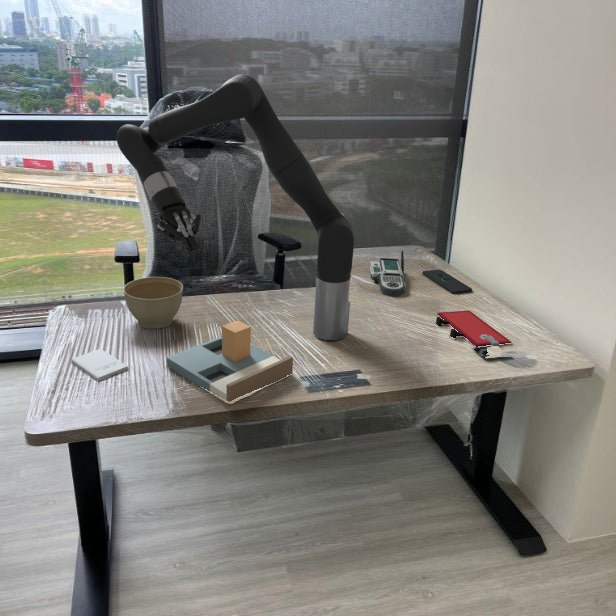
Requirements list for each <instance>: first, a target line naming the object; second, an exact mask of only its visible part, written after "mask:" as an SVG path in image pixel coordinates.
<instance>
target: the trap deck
mask: <svg viewBox="0 0 616 616" xmlns="http://www.w3.org/2000/svg"><path fill="white" fill-rule="evenodd" d="M293 364H294V357H293V356H291V355H289V356H287V357H285V358H282V359H280V358H277V357H276V356H274V355H272V354H269V353H268V352H266V351H264V350H262V349H260V348H259V347H256V346H254V345H253V344H251V346H250V356H248V357H245V358H243V359H241V360H238V361H236V362H234V361H233V360H231V359H229V358H227V357H226V356H224V355H222V335H221V336H219V337H217V338H213V339H211V340H208V341H206V342H203V343H201V344H197V345H195V346H192V347H189V348H188V349H185V350H181V351H180V352H177V353H174V354H172V355H169V356H166V366H167V368H169V369H171V370H172V369H173V370H172V371H174V372H175V373H177V374H179V375H180V376H182V377H183V378H185V379H186V380H188V381H190V382H191V383H193V384H194V385H196V386H198V387H199V386H201V387H203V388H204V389H207V390H208V391H210V392H212V393H213V394H215V395H217V396H219V397H221V398H223V399H225V400H227V401H229V402H230V401H232V400H234V399H236V398H238V397H240V396H243V395H245V394H247V393H250V392H252V391H254V390H257V389H259V388H262V387H264V386H266V385H269V384H271V383H274V382H276V381H278V380H280V379H282V378H284V377H286V376H287V375H290V374H292V375H293V371H294V370H293V366H294V365H293ZM201 387H200V388H201ZM204 389H203V390H204Z"/></svg>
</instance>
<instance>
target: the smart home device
mask: <svg viewBox="0 0 616 616" xmlns="http://www.w3.org/2000/svg"><path fill="white" fill-rule="evenodd" d="M422 276H423V277H425V278H427V279H428V280H430V281H432V282H433V283H435V284H436V285H438V286H439V287H441V288H442V289H444V290H446V292H448V293H450V294H452V295H459V294H468V293H469V292H470V293H472V292H473V288H472V287H470V286H469V285H467V284H465V283H464V282H462V281H460V280H459V279H457V278H456V277H454V276H453V275H451V274H450V273H447V272H445V270H443V269H440V268H439V269H431V270H423V271H422ZM470 293H469V294H470Z"/></svg>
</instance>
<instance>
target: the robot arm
mask: <svg viewBox="0 0 616 616" xmlns="http://www.w3.org/2000/svg"><path fill="white" fill-rule="evenodd" d="M241 119H244V120H245V121H246V122H247V124H248V125H249V127H250V128H251V130H252V131H253V133H254V135H255V137H256V138H257V141H258V144H259V146H260V150H261V152H262V155H263V158H264V161H265V164H266V166H267V168H268V170H269V172H270V173H271V174H272V176H273V177H274V179H275V180H276V182H277V183H278V185H279V186H280V187H281V189H282V190H283V191H284V192H285V193H286V195H287V196H288V197H290V199H292V201H293V202H295V203H296V204H297V205H298V206H299V207H300V208H301V209H302V211H304V213H305V214H306V215H307V217H308V219H309V220H310V222H311V224H312V226H313V228H314V229H315V231H316V233H317V236H318V242H317V245H318V246H317V262H316V276H315V295H314V296H315V297H314V311H313V312H314V313H313V314H314V316H313V328H312V329H313V330H312V331H313V333H312V334H313V336H314V335H315V338H317V337H318V338H317V339H319V338H320V340H322V339H324V340H323V341H327V340H336V341H340V340H343V339H344V338H345V337H346V335H347V334H348V333H347V332H349V322H350V321H349V320H350V309H351V302H350V301H349V299H350V297H349V296H350V283H351V274H352V269H353V261H354V259H353V257H354V247H355V236H354V231H353V227H352V224H351V223H350V221H348V219H347V218H346V217H345V215H343V213H341V211H340V210H339V209H338V207H336V205H335V204H334V203H333V201H332V200H331V199H330V198H329V196H328V194H327V192H326V191H325V189H324V187H323V185H322V183H321V181H320V179H319V178H318V176H317V173H316V172H315V171H314V168H312V166H311V164H310V163H309V161H308V160H307V158H306V156H305V155H304V154H303V152H302V150H301V149H300V148H299V146H298V145H297V144H296V142H295V141H294V140H293V138H292V137H291V135H290V134H289V132H288V130H287V129H286V128H285V127H284V125H283V123H282V122H281V120H280V119H279V118H278V116H277V114H276V113H275V111H274V109H273V107H272V105H271V103H270V101H269V100H268V98H267V96H266V93H265V92H264V90H263V88H262V86H261V85H260V83H259V82H258V81H257V80H256V79H255V78H254V77H253V76H251V75H249V74H245V73H242V74H241V73H240V74H236V75H234V76H233V77H231V78H230V79H228V80H226V81H225V82H224V83H223V84H222V85H221V86H220V87H218V88H217V89H216V90H214V91H213V92H212V93H210V94H209V95H207V96H205V97H204V98H202V99H199V100H197V101H195V102H193V103H190V104H186V105H182V106H180V107H179V106H178V107H176V108H172V109H170V110H168V111H165V112H164V113H161V114H159V115H156V116H154V117H153V118H151V119H150V121H149V123H148V127H147V128H142V127H139V126H136V125H135V124H134V125H133V124H131V123H130V124H128V123H127V124H123V125H122V126H120V127H119V128H118V130H117V132H116V143H117V146H118V148H119V150H120V151H121V152H120V153H122V155H123V156H124V157H125V159H126V160H127V161H128V162H129V163H130V165H131V166H132V167H133V169H135V170H136V172H137V174H138V177H139V178H140V180H141V181H142V184H143V186H144V189H145V191H146V194H147V196H148V197H149V199H150V201H151V204H152V206H153V207H154V209H155V211H156V214H158V216H159V220H160V221H159V222H158V224H157V226H156V230H157V231H159V232H160V233H162V234H163V235H165V236H166V237H167V238H169V239H171V240H173V241H174V242H177V241H180V242H182V244H183V246H184V248H185V250H186V251H187V253H189V254H195V253H197V251H199V245H198V242H197V240H196V239H195V236H196V235H197V234H198V232H199V229H200V224H201V223H200V222H201V219H202V216H201V215H200V214H199V213H198V214H196V215H195V214H193V213H192V212H191V210H190V209H189V208H188V207H187V205H186V201H185V199H184V197H183V195H182V193H181V191H180V189H179V188H178V186H177V184H176V182H175V180H174V178H173V177H172V175H170V173H169V171H168V169H167V167H166V165H165V163H164V161H163V160H162V159H161V157H160V156H159V155H157V154H155V153H156V152H158V151H159V150H161V149H162V148H164V146H165V145H167V144H169V143H172V142H175V141H177V140H179V139H182V138H184V137H187V136H189V135H191V134H193V133H195V132H197V131H200V130H202V129H205V128H208V127H211V126H214V125H218V124H220V123H221V124H223V123H227V122H231V121H236V120H241ZM342 338H343V339H342ZM339 339H340V340H339Z"/></svg>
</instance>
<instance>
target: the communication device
mask: <svg viewBox="0 0 616 616" xmlns="http://www.w3.org/2000/svg"><path fill="white" fill-rule="evenodd" d="M400 256H401V257H400V260H399V259H398V258H387V257H380V258H379V261H373V260H371V261H370V262H369V267H370V268H369V273H370V279H371V280H372V281H377V283H378V284H379V290H380V292H381V293H382V294H383V295H385V296H390V297H399V296H401V295H403V294H404V292H405V289H406V288H407V286H406V282H405V278H404V273H405V260H404V259H405V258H404V250H401V254H400Z"/></svg>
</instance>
